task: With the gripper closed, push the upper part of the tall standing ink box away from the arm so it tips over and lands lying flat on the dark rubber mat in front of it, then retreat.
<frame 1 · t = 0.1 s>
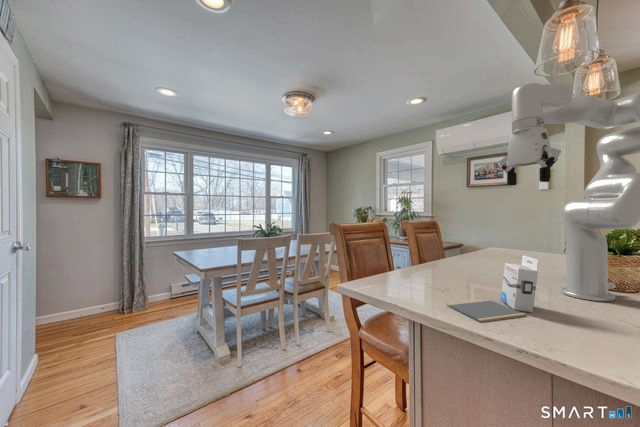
hand: (527, 183, 81), 36 cm above the table, tool pointing down, fingers open, 9 cm apart
ink box: (515, 306, 78), on the table, touching mat
mat: (484, 310, 76), on the table
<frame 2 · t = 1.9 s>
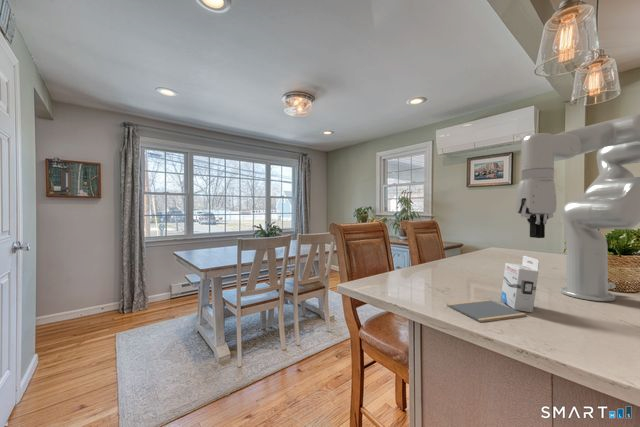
hand: (537, 237, 80), 20 cm above the table, tool pointing down, fingers closed
nothing on the table moved.
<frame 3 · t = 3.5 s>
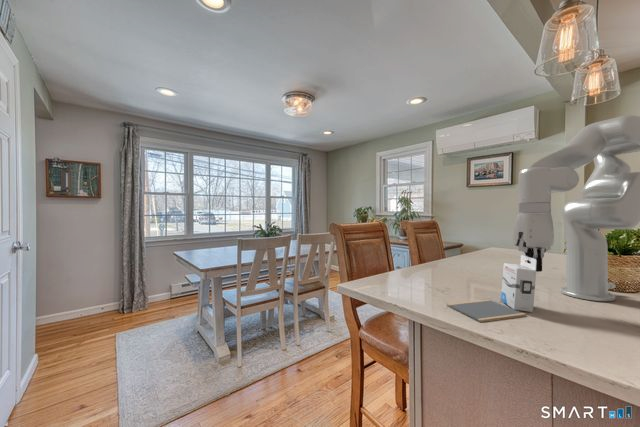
hand: (534, 270, 80), 10 cm above the table, tool pointing down, fingers closed
nothing on the table moved.
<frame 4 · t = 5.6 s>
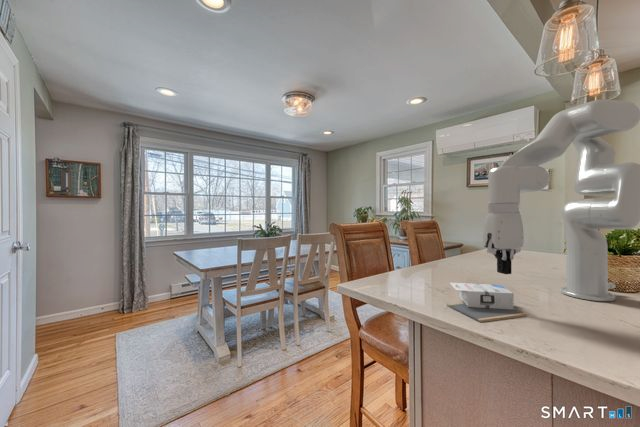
hand: (504, 273, 77), 10 cm above the table, tool pointing down, fingers closed
ink box: (507, 296, 79), point 3 cm above the table, touching mat
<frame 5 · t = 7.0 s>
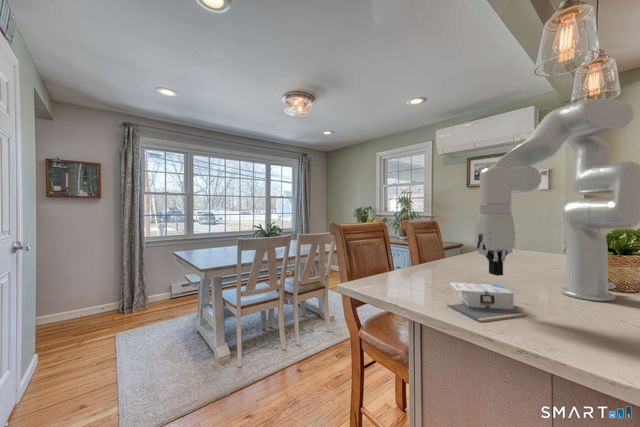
hand: (495, 274, 77), 10 cm above the table, tool pointing down, fingers closed
nothing on the table moved.
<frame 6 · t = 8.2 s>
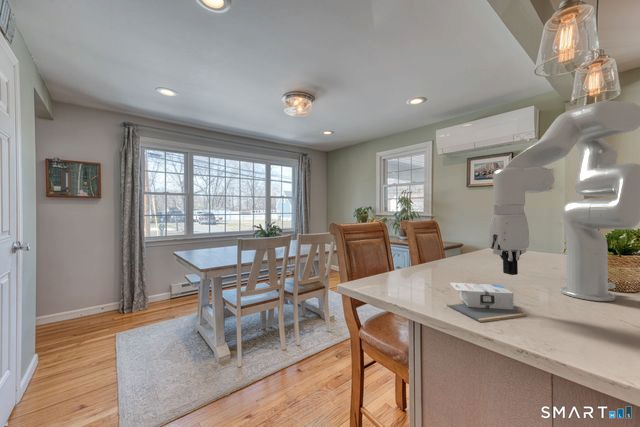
hand: (510, 273, 78), 10 cm above the table, tool pointing down, fingers closed
nothing on the table moved.
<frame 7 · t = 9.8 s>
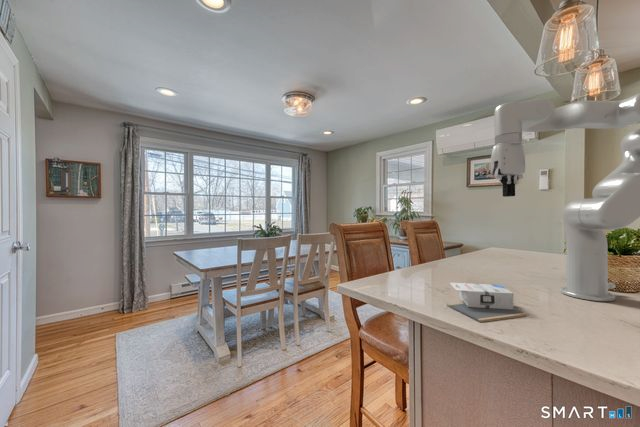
hand: (508, 196, 90), 33 cm above the table, tool pointing down, fingers closed
nothing on the table moved.
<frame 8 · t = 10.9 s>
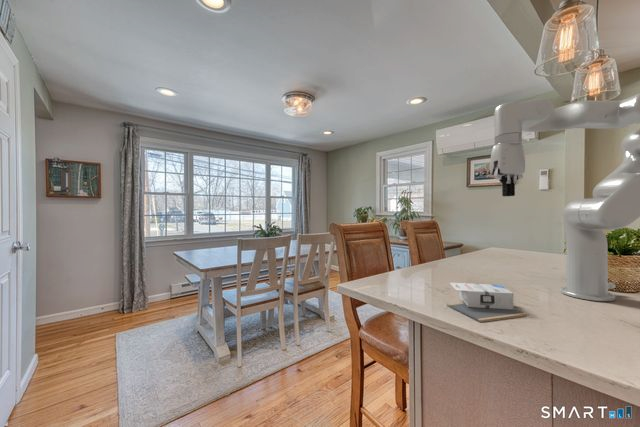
hand: (508, 196, 90), 33 cm above the table, tool pointing down, fingers closed
nothing on the table moved.
at the end: ink box tilted 90°; ink box inside the target area (9.1 cm from its centre), point 2.9 cm above the table; the gripper is holding nothing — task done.
